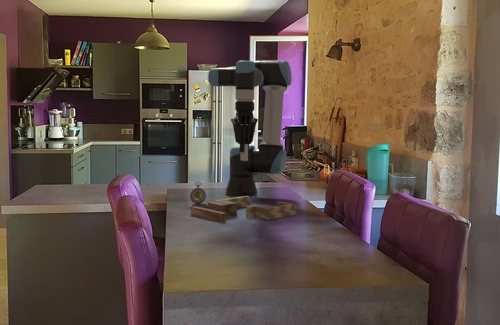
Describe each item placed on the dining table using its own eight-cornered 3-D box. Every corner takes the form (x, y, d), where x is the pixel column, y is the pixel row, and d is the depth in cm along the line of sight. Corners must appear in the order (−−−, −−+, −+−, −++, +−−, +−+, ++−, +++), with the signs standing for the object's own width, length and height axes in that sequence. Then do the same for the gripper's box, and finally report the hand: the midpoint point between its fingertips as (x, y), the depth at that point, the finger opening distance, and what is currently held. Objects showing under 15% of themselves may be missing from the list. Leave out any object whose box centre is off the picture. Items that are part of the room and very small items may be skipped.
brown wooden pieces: (248, 204, 230) (248, 195, 230) (296, 214, 211) (296, 204, 211) (189, 214, 208) (189, 203, 208) (237, 225, 189) (237, 214, 188)
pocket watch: (200, 209, 218) (200, 184, 217) (185, 206, 223) (185, 182, 222) (213, 206, 225) (214, 182, 224) (198, 204, 230) (198, 181, 229)
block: (224, 212, 213) (224, 200, 213) (237, 216, 207) (237, 203, 207) (207, 215, 208) (207, 202, 207) (220, 218, 202) (220, 205, 201)
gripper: (249, 100, 220) (248, 158, 222) (226, 100, 210) (225, 160, 213) (263, 101, 214) (262, 160, 217) (239, 100, 205) (238, 162, 208)
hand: (244, 160), depth 215 cm, fingers closed
